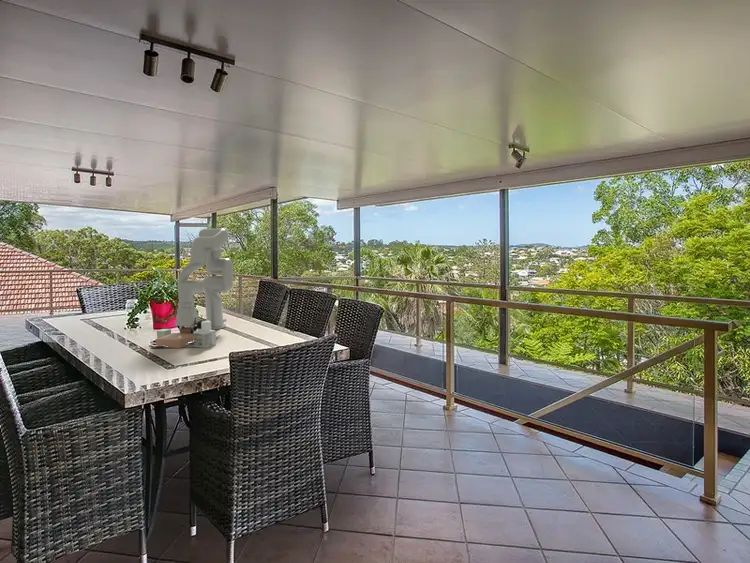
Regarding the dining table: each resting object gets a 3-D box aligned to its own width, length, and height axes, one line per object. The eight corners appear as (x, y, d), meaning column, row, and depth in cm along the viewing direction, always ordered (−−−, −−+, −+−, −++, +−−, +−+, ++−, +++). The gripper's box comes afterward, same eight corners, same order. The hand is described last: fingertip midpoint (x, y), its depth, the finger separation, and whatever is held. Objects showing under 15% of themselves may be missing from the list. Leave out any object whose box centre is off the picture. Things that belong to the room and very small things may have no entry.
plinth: (174, 340, 237) (174, 332, 237) (197, 341, 234) (196, 333, 233) (156, 346, 223) (155, 338, 223) (179, 347, 220) (179, 340, 220)
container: (193, 346, 222) (192, 321, 221) (205, 343, 229) (204, 318, 228) (204, 348, 219) (202, 322, 217) (216, 344, 226) (215, 320, 224)
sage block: (163, 337, 244) (163, 328, 243) (171, 338, 243) (170, 329, 242) (157, 339, 239) (156, 330, 238) (165, 340, 238) (164, 331, 237)
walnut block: (187, 337, 244) (186, 326, 244) (196, 337, 243) (196, 326, 242) (180, 339, 238) (179, 328, 238) (189, 340, 237) (189, 329, 236)
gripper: (168, 305, 237) (170, 338, 239) (196, 306, 233) (198, 339, 235) (177, 303, 244) (179, 335, 246) (204, 304, 240) (206, 336, 242)
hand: (188, 337), depth 241 cm, fingers closed on walnut block, 6 cm apart
